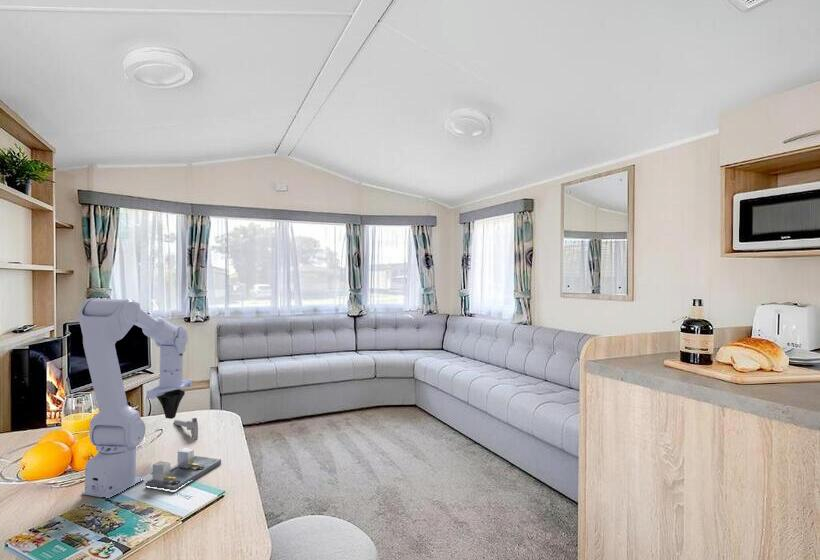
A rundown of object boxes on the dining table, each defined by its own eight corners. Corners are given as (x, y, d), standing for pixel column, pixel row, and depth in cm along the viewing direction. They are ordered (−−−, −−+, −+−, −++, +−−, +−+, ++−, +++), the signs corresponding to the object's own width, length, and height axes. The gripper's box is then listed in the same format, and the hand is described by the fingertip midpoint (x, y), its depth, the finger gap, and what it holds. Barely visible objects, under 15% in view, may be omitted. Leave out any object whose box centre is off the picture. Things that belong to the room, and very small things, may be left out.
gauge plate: (174, 492, 99) (174, 470, 99) (145, 488, 101) (145, 465, 101) (221, 464, 114) (221, 444, 114) (195, 460, 116) (195, 440, 116)
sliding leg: (195, 469, 107) (196, 453, 107) (177, 467, 109) (177, 451, 109) (201, 466, 109) (201, 450, 109) (183, 463, 111) (183, 448, 111)
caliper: (198, 439, 131) (198, 418, 131) (194, 440, 131) (194, 419, 131) (176, 422, 146) (176, 404, 146) (172, 423, 145) (173, 404, 145)
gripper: (162, 376, 114) (161, 427, 114) (201, 365, 128) (200, 411, 128) (140, 373, 115) (139, 424, 115) (181, 363, 129) (180, 409, 129)
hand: (170, 417), depth 122 cm, fingers closed
